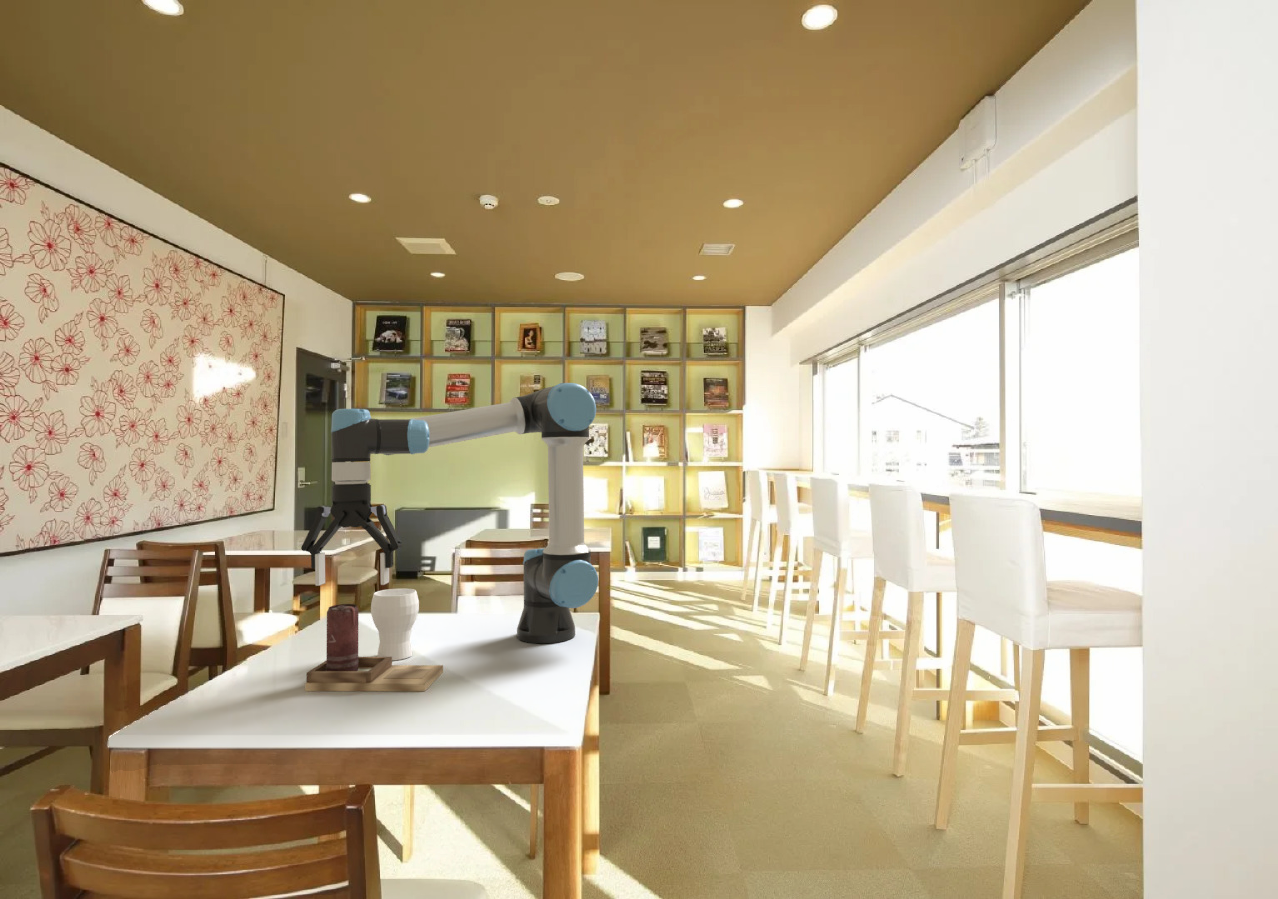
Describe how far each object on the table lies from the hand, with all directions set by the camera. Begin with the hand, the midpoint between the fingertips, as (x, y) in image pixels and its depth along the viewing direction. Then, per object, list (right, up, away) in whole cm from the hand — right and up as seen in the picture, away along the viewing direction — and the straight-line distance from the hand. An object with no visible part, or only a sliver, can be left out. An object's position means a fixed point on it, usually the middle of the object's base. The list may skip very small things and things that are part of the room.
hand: (352, 584), depth 140 cm
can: (-2, -19, 0) cm, 19 cm away
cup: (+3, -21, +17) cm, 27 cm away
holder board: (+5, -20, -1) cm, 21 cm away
